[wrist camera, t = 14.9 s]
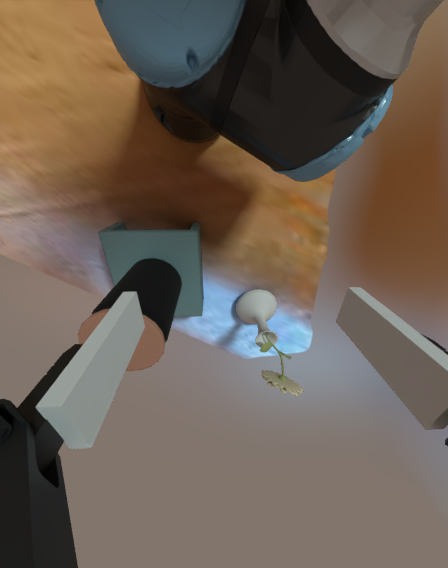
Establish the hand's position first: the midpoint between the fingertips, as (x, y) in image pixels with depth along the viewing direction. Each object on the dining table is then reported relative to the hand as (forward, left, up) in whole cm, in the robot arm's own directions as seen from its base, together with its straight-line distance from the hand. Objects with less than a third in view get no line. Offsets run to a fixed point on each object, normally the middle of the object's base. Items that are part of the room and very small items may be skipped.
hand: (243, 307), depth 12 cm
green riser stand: (+12, -14, -35) cm, 39 cm away
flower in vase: (+25, +10, -35) cm, 44 cm away
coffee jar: (+12, -14, -27) cm, 33 cm away
